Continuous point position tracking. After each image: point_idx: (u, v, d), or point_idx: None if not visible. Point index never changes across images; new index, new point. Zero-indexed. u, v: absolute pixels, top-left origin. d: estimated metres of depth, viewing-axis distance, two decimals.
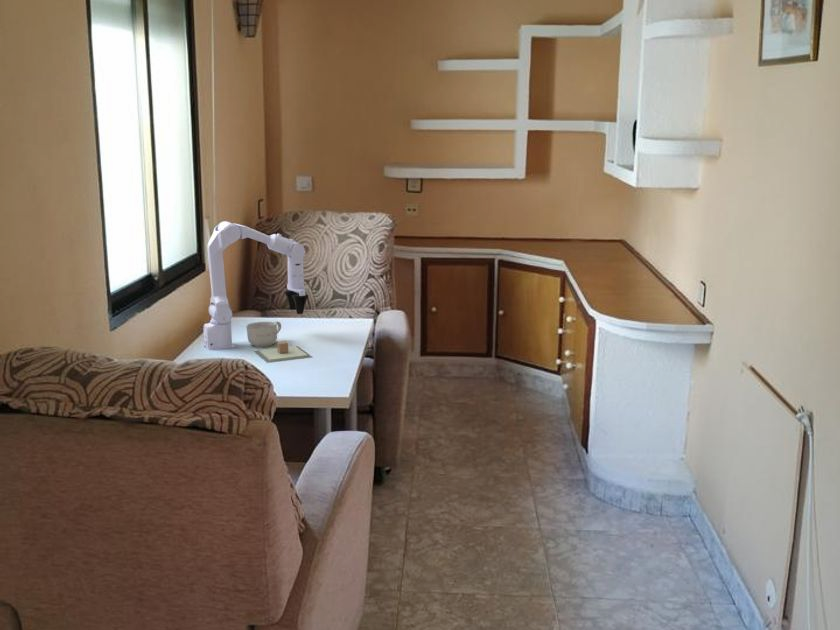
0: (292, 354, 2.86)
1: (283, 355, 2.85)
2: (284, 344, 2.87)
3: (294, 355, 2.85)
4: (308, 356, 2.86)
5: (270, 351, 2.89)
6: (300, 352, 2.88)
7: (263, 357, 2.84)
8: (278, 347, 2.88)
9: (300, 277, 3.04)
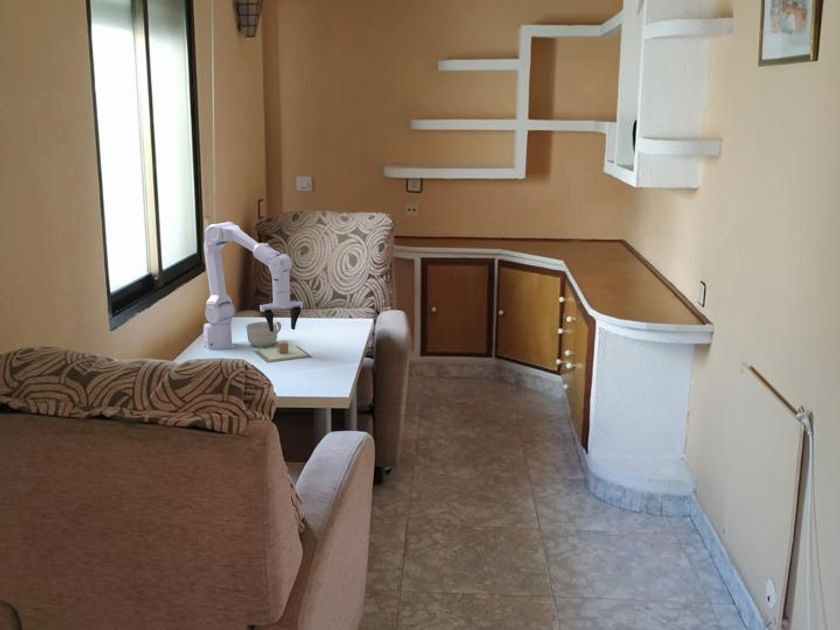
0: (292, 354, 2.86)
1: (283, 355, 2.85)
2: (284, 344, 2.87)
3: (294, 355, 2.85)
4: (308, 356, 2.86)
5: (270, 351, 2.89)
6: (300, 352, 2.88)
7: (263, 357, 2.84)
8: (278, 347, 2.88)
9: (274, 293, 2.82)
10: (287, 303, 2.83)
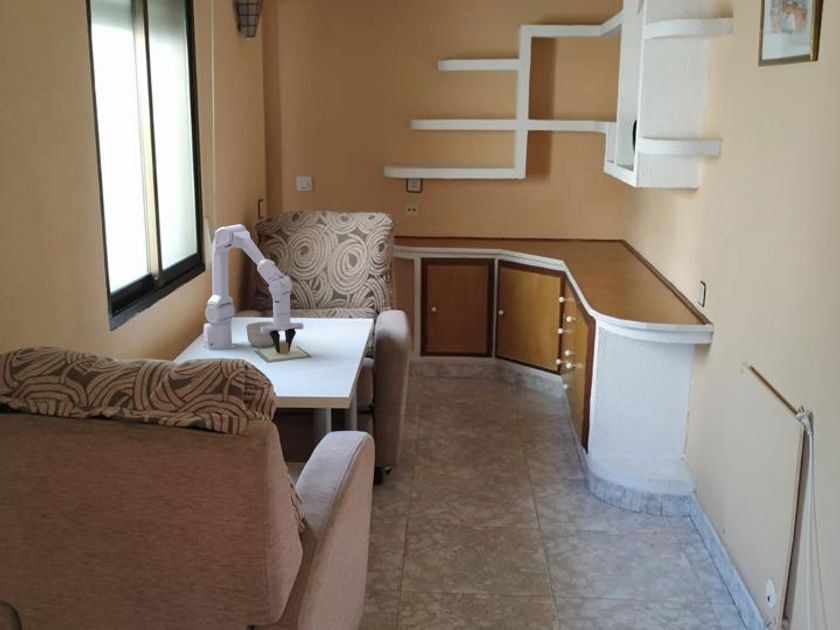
0: (292, 354, 2.86)
1: (283, 355, 2.85)
2: (284, 344, 2.87)
3: (294, 355, 2.85)
4: (308, 356, 2.86)
5: (270, 351, 2.89)
6: (300, 352, 2.88)
7: (263, 357, 2.84)
8: None
9: (274, 315, 2.84)
10: (288, 325, 2.85)
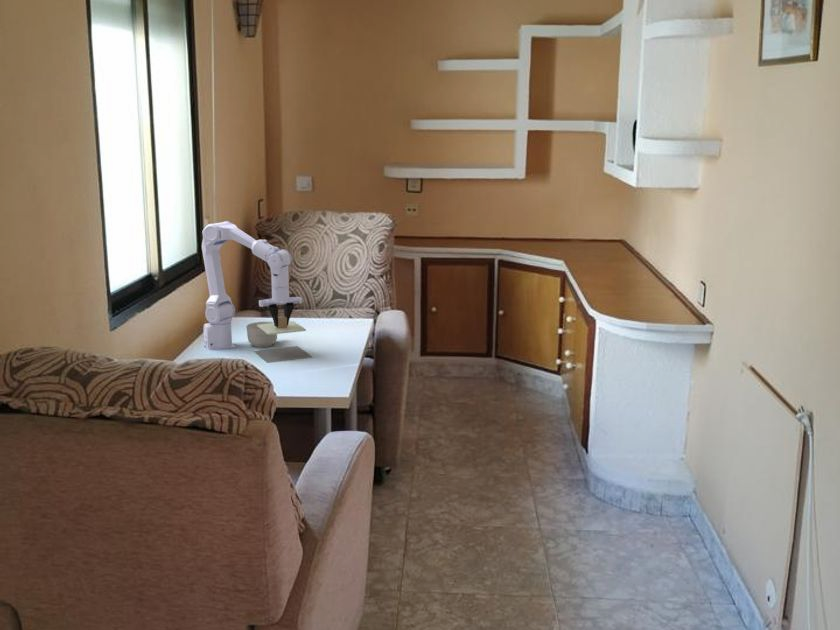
0: (290, 328, 2.85)
1: (281, 329, 2.83)
2: (283, 318, 2.85)
3: (293, 329, 2.84)
4: (308, 356, 2.86)
5: (269, 326, 2.88)
6: (299, 327, 2.87)
7: (263, 357, 2.84)
8: None
9: (273, 288, 2.82)
10: (286, 298, 2.83)
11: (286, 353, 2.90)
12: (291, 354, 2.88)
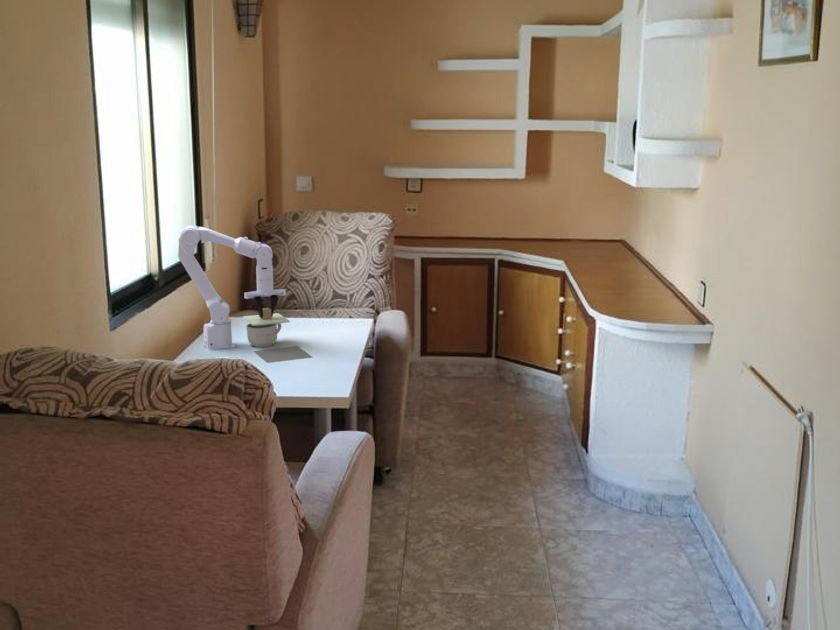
0: (274, 320, 2.97)
1: (266, 321, 2.96)
2: (267, 310, 2.97)
3: (277, 321, 2.96)
4: (308, 356, 2.86)
5: (254, 317, 3.00)
6: (283, 318, 2.99)
7: (263, 357, 2.84)
8: None
9: (258, 281, 2.94)
10: (270, 291, 2.96)
11: (286, 353, 2.90)
12: (291, 354, 2.88)
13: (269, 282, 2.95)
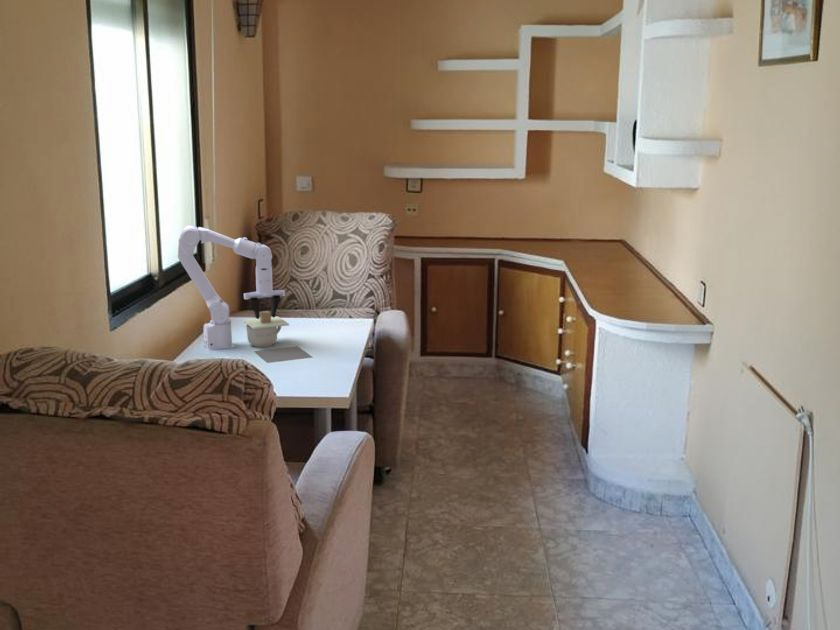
0: (274, 323, 2.98)
1: (266, 324, 2.96)
2: (267, 313, 2.98)
3: (276, 324, 2.97)
4: (308, 356, 2.86)
5: (254, 321, 3.01)
6: (282, 321, 3.00)
7: (263, 357, 2.84)
8: (261, 316, 2.99)
9: (257, 282, 2.95)
10: (270, 291, 2.96)
11: (286, 353, 2.90)
12: (291, 354, 2.88)
13: (268, 283, 2.95)
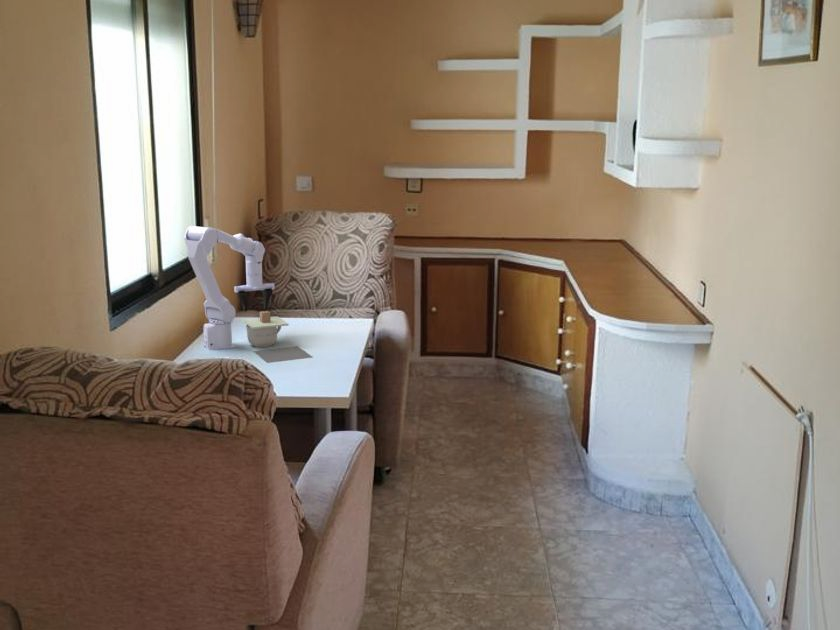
0: (273, 323, 2.98)
1: (265, 324, 2.96)
2: (266, 313, 2.98)
3: (276, 324, 2.96)
4: (308, 356, 2.86)
5: (253, 321, 3.01)
6: (282, 321, 3.00)
7: (263, 357, 2.84)
8: (260, 316, 2.99)
9: (247, 275, 3.06)
10: (259, 285, 3.07)
11: (286, 353, 2.90)
12: (291, 354, 2.88)
13: (258, 276, 3.06)
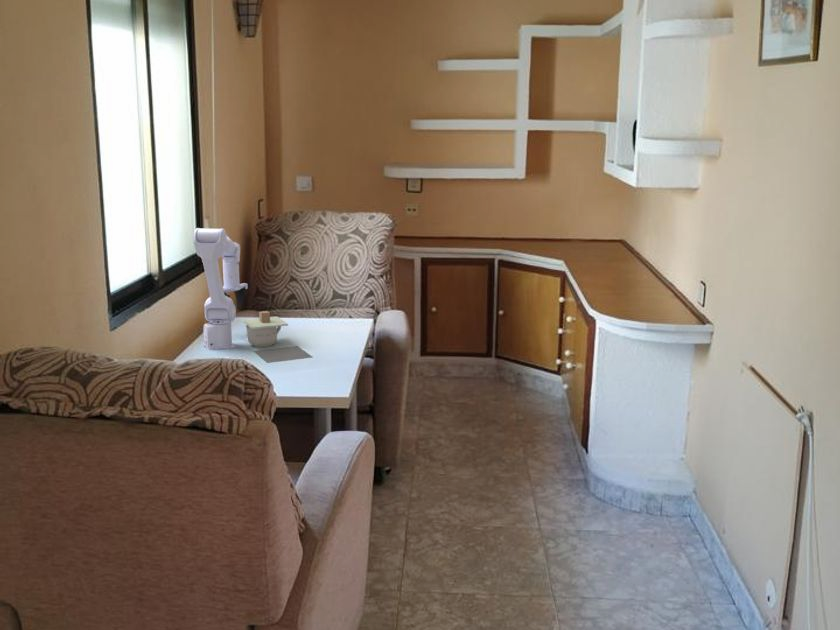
0: (273, 323, 2.98)
1: (265, 324, 2.96)
2: (266, 313, 2.98)
3: (275, 324, 2.96)
4: (308, 356, 2.86)
5: (253, 321, 3.01)
6: (281, 322, 3.00)
7: (263, 357, 2.84)
8: (260, 316, 2.99)
9: (227, 277, 3.07)
10: (239, 285, 3.10)
11: (286, 353, 2.90)
12: (291, 354, 2.88)
13: (238, 277, 3.09)
